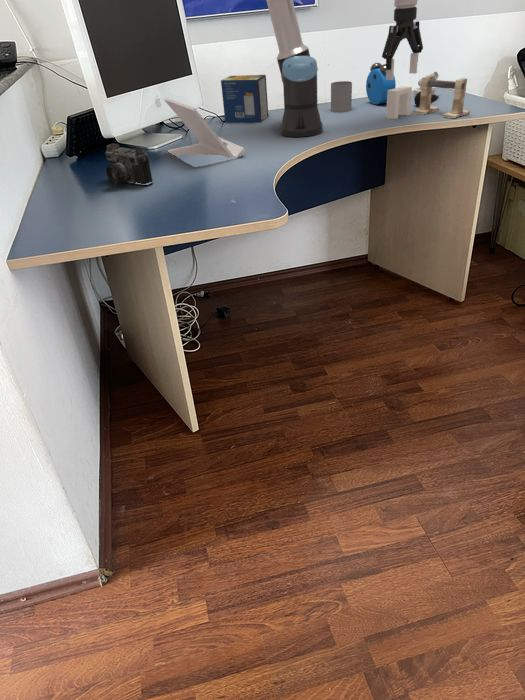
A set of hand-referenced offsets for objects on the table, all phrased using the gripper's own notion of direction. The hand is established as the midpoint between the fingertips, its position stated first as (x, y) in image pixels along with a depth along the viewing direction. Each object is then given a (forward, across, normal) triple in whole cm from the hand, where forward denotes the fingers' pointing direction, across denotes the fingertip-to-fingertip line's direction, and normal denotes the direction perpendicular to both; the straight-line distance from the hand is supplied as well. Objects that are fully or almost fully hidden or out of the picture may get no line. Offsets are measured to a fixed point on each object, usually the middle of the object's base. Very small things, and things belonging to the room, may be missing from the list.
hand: (401, 76), depth 191 cm
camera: (+13, -109, +14) cm, 110 cm away
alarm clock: (+14, +15, +21) cm, 29 cm away
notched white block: (+14, 0, 0) cm, 14 cm away
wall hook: (+14, +37, +14) cm, 42 cm away
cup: (+14, -2, +27) cm, 31 cm away
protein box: (+13, -34, +49) cm, 61 cm away
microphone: (+14, +26, +5) cm, 30 cm away
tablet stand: (+13, -76, +20) cm, 79 cm away
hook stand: (+14, +11, -11) cm, 20 cm away
